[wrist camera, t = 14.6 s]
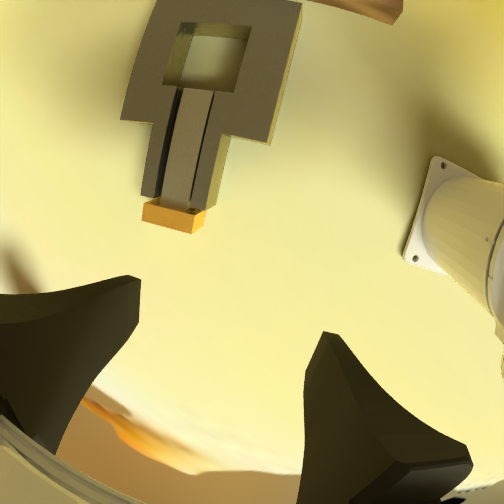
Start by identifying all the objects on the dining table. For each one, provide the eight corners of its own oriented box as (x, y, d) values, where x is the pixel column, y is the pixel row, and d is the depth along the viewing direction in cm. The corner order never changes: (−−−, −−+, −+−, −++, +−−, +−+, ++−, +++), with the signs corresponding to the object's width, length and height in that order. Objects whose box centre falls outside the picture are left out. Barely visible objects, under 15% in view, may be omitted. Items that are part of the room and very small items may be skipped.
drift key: (231, 98, 17) (222, 89, 15) (202, 225, 20) (191, 234, 18) (181, 91, 17) (168, 84, 15) (157, 213, 20) (141, 220, 18)
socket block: (301, 19, 15) (302, 3, 12) (253, 214, 20) (247, 221, 17) (172, 9, 15) (159, -5, 13) (127, 184, 20) (108, 188, 18)
